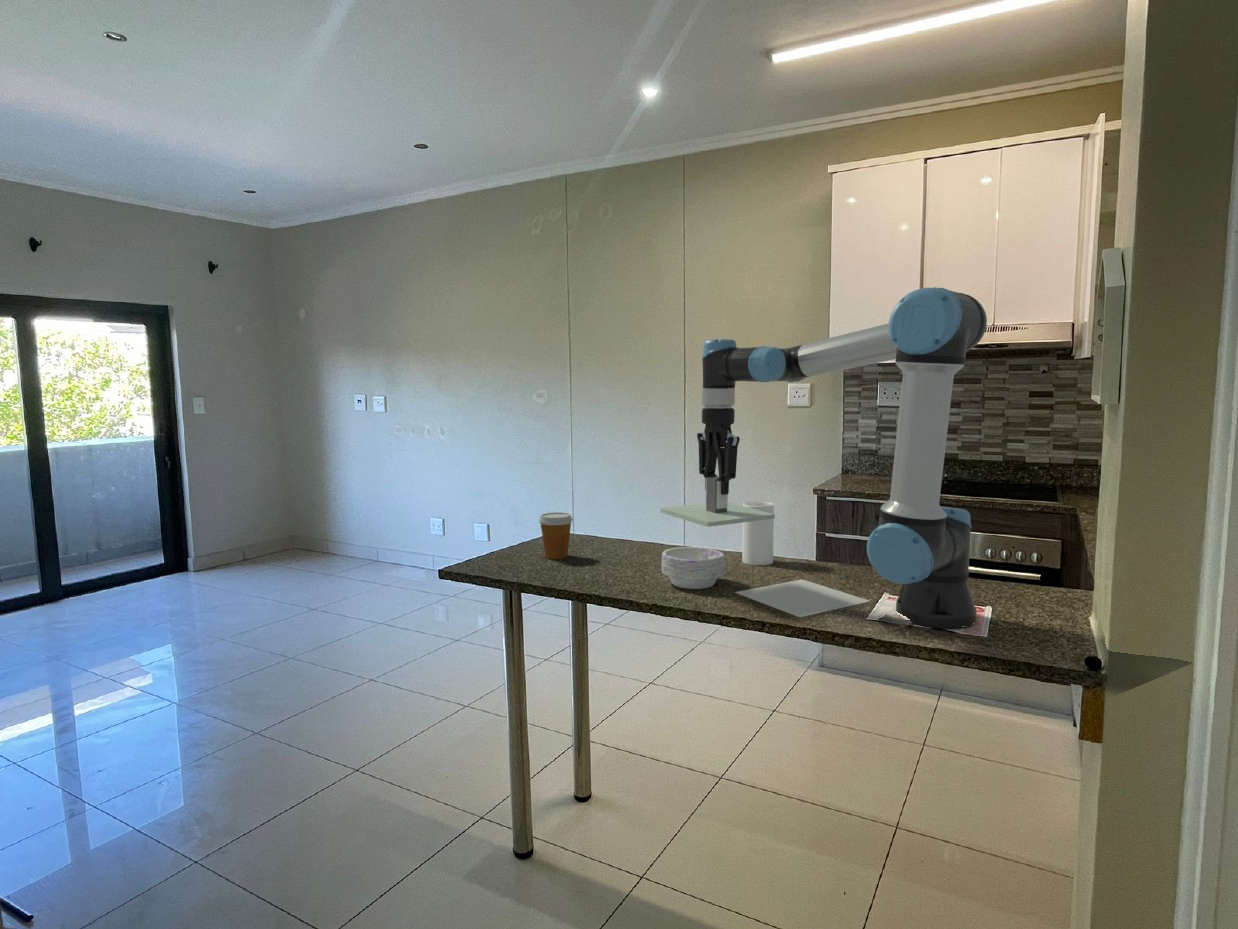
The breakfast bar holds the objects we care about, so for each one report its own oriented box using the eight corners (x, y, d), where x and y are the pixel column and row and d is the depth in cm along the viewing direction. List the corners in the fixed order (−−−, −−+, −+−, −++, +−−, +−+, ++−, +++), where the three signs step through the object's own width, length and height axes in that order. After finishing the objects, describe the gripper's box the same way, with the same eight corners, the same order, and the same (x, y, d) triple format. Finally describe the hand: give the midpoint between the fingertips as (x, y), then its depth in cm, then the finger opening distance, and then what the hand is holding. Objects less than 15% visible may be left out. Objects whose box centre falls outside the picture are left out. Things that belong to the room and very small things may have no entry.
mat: (870, 602, 157) (870, 601, 157) (799, 619, 146) (799, 617, 146) (802, 580, 175) (802, 579, 175) (734, 594, 164) (734, 592, 164)
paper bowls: (735, 582, 175) (735, 550, 174) (706, 597, 162) (706, 563, 161) (681, 573, 183) (680, 543, 182) (649, 587, 171) (649, 555, 170)
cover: (774, 518, 165) (775, 480, 164) (707, 526, 156) (708, 486, 154) (723, 505, 181) (724, 470, 180) (660, 512, 172) (661, 475, 171)
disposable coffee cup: (539, 553, 207) (538, 512, 206) (572, 552, 208) (571, 511, 207) (539, 561, 198) (538, 518, 196) (574, 560, 199) (573, 517, 197)
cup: (775, 565, 190) (776, 506, 188) (744, 565, 190) (745, 506, 188) (769, 558, 198) (770, 501, 196) (740, 558, 198) (740, 501, 197)
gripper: (754, 408, 160) (751, 511, 163) (710, 405, 174) (708, 500, 177) (727, 408, 156) (725, 514, 159) (684, 406, 171) (683, 502, 173)
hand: (716, 506), depth 168 cm, fingers closed on cover, 3 cm apart
